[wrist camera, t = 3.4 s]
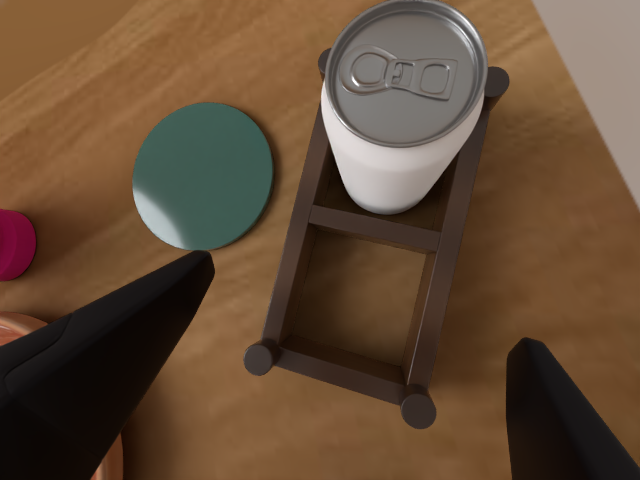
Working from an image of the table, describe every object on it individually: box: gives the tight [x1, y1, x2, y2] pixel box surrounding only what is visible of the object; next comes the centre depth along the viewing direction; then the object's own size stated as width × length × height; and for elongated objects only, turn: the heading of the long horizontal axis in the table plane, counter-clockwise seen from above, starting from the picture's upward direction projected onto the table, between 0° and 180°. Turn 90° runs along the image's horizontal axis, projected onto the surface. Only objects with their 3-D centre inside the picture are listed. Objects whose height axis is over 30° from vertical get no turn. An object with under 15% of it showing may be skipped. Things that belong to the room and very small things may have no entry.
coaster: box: [133, 103, 275, 251], centre depth 25 cm, size 12×12×1 cm
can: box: [321, 0, 488, 215], centre depth 17 cm, size 6×6×12 cm
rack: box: [244, 48, 509, 429], centre depth 20 cm, size 20×11×5 cm, turn 166°
